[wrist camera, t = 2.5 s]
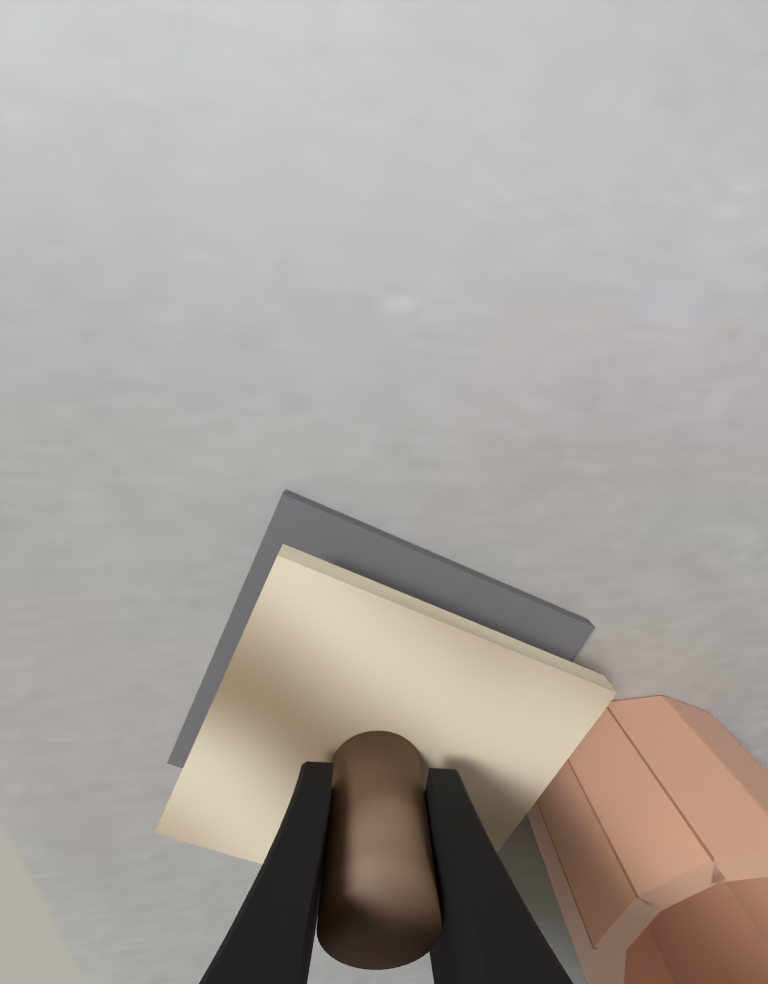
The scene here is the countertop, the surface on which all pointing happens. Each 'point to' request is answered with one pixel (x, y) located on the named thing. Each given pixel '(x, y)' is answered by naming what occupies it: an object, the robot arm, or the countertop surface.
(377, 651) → the cover
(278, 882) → the robot arm
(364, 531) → the mat
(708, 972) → the bowl
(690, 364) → the countertop surface
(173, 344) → the countertop surface
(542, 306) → the countertop surface
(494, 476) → the countertop surface
